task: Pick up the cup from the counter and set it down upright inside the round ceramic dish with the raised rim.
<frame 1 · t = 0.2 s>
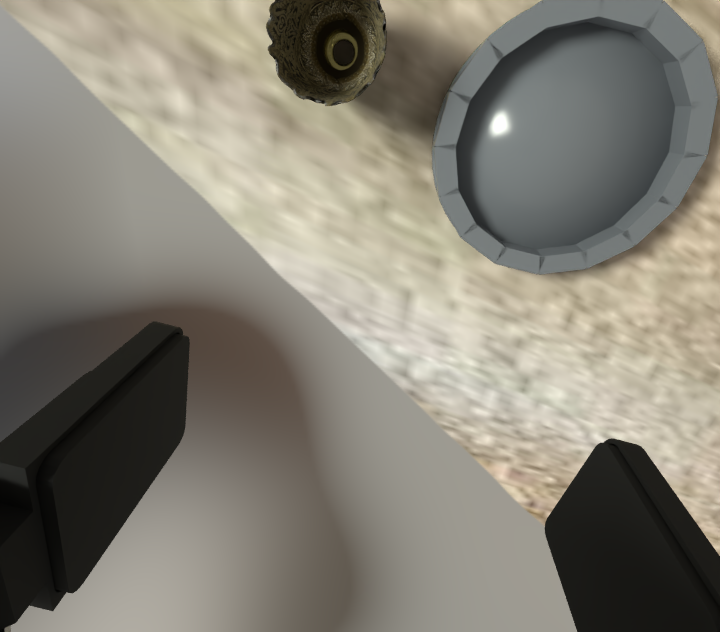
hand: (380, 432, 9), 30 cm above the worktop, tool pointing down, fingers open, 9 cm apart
round dish: (556, 148, 33), on the worktop
cup: (344, 53, 32), on the worktop
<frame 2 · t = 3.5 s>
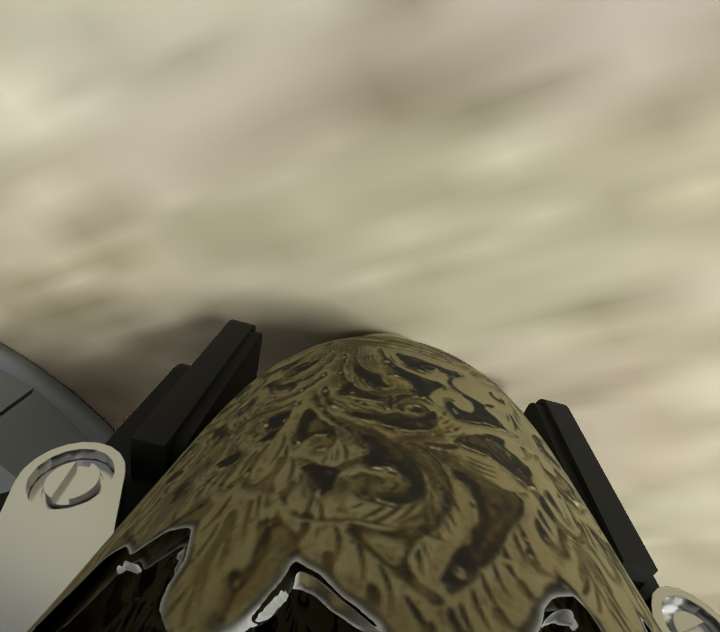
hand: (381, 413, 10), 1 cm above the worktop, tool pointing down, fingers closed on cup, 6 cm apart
cup: (384, 378, 11), on the worktop, touching gripper
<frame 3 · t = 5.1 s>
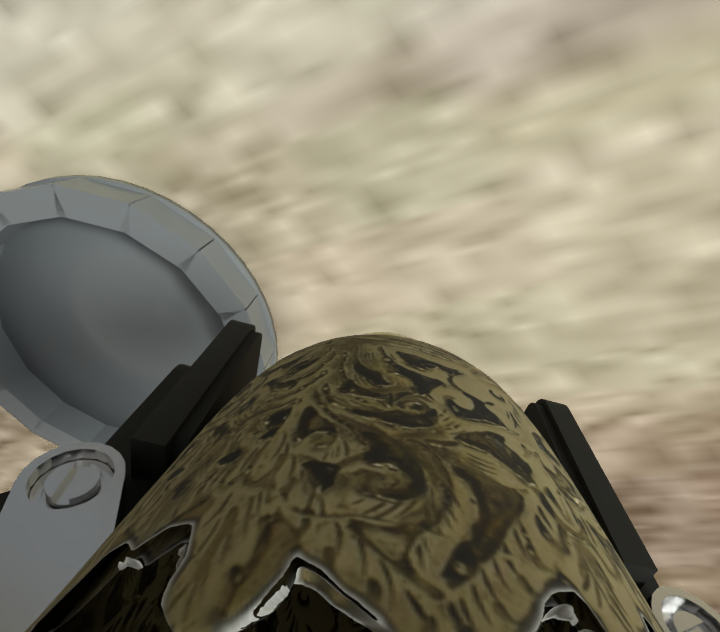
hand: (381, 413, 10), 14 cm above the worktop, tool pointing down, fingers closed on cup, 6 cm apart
round dish: (128, 333, 27), on the worktop
cup: (384, 377, 11), point 13 cm above the worktop, touching gripper
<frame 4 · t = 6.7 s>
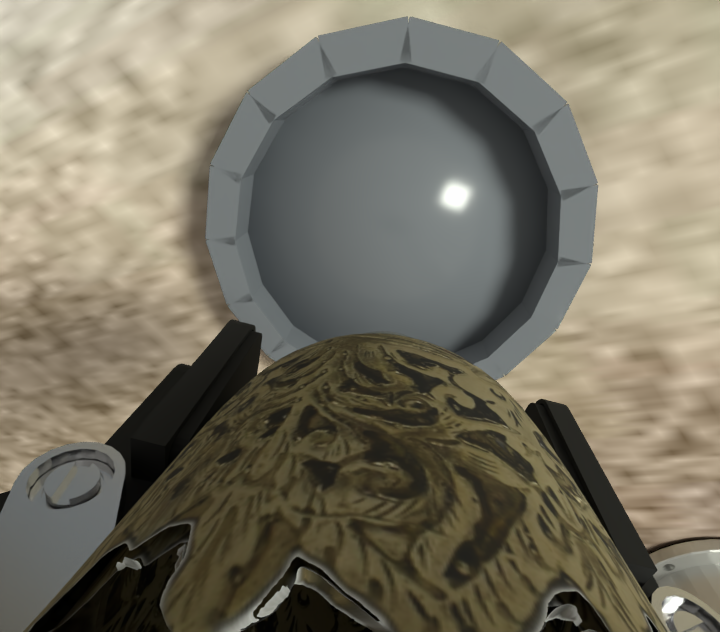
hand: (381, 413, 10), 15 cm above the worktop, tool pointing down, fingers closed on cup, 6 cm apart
round dish: (393, 237, 24), on the worktop
cup: (384, 376, 11), point 14 cm above the worktop, touching gripper
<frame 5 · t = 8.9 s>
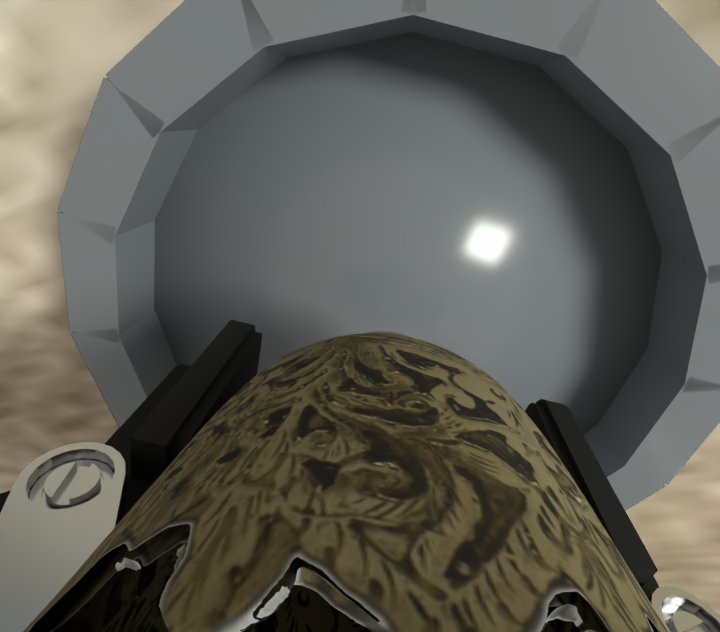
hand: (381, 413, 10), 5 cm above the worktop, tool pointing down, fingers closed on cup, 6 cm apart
round dish: (390, 320, 15), on the worktop
cup: (384, 376, 11), point 4 cm above the worktop, touching gripper
when the fingers open (3 cm above the worktop, at t = 10.4 s): cup drops 1 cm, resting on round dish.
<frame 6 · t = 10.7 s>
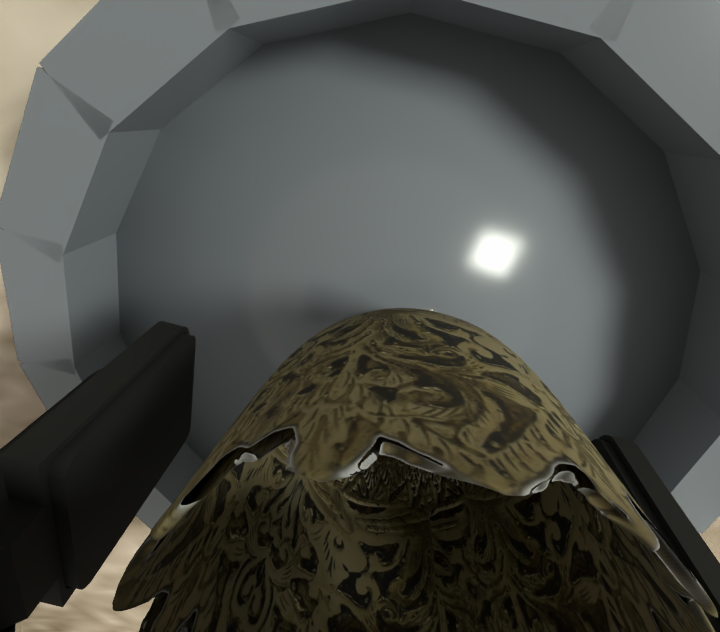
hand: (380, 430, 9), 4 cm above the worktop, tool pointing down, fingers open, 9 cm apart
round dish: (386, 344, 13), on the worktop
cup: (402, 354, 12), resting on round dish
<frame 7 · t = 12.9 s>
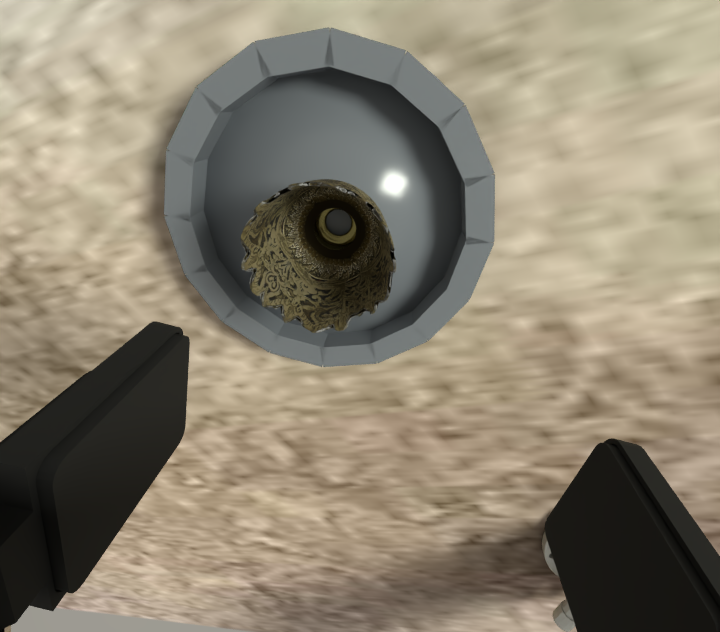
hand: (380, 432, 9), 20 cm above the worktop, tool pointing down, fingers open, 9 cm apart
round dish: (332, 218, 27), on the worktop
cup: (339, 221, 27), resting on round dish
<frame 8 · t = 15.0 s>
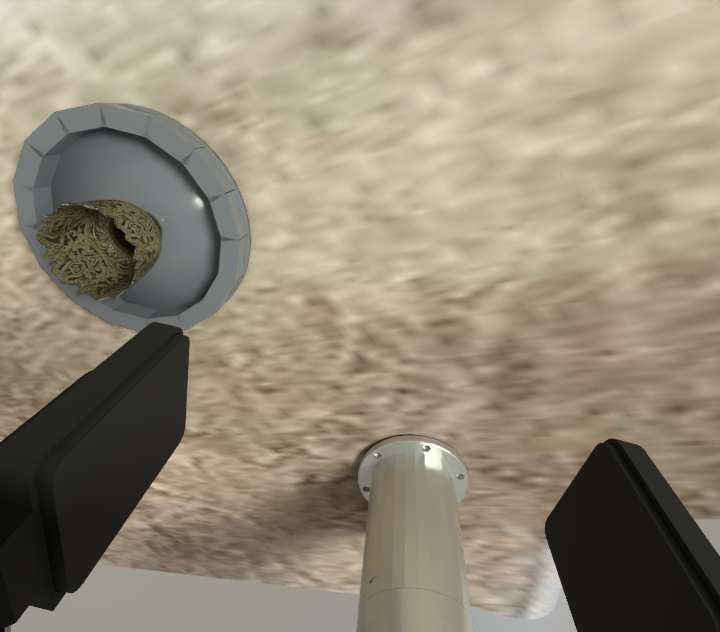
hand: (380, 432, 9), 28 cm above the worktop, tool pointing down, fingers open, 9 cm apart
round dish: (144, 225, 38), on the worktop
cup: (147, 227, 38), resting on round dish
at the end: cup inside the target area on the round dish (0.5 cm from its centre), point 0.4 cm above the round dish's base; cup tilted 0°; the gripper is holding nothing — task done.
